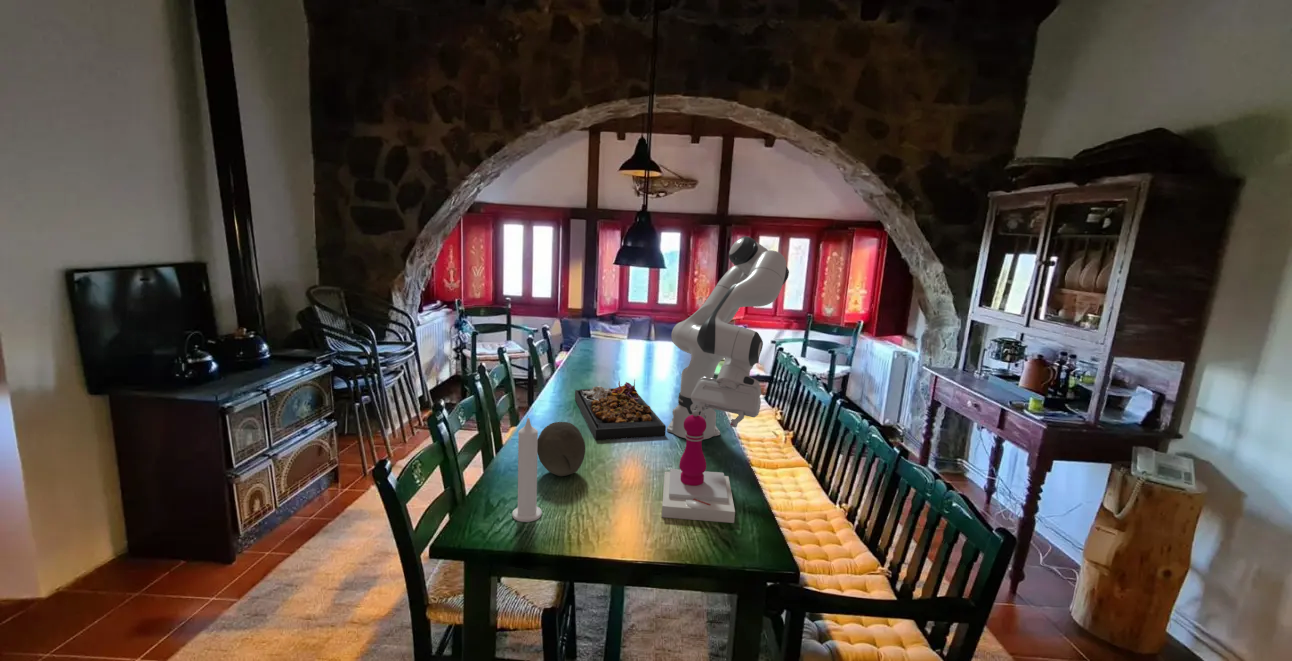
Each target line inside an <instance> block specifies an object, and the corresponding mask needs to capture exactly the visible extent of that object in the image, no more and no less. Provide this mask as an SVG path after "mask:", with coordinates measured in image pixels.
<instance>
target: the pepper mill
mask: <svg viewBox="0 0 1292 661" xmlns="http://www.w3.org/2000/svg"><path fill="white" fill-rule="evenodd" d="M692 414H693V415H690V416H688V417H687V418H686V419H685V421H684V429H685V430H686V432H685V438H684V439H686V440H685V441H686V442H685V449H684V451H683V453H682V455H681V457H680V460H679V469H681V471H682V472H681V482H682V483H684V484H686V485H691V486H697V485H700V484H702V483H703V482H704V474H703V472H704V471H706V470H707V460H706V457H705V455H704V451H703V448H702V442H703V440H705V439H704V437H703V436H704V433H703V432H704V431H705V429H706V421H705V419H704V418H703V417H701V416H699V412H698V410H694V411H693V412H692Z"/></svg>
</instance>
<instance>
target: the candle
mask: <svg viewBox="0 0 1292 661" xmlns="http://www.w3.org/2000/svg"><path fill="white" fill-rule="evenodd" d="M525 421H526V422H525V424H524V426H523V427H522V428H520V429H519V430H518V432H517V433H518V437H517V438H518V442H517V443H518V447H517V449H518V450H517V451H518V453H517V454H518V455H517V456H518V458H517V463H518V464H517V507H516V508H514V509H513V511H512V512H511V514H512V515H511V516H512V518H513V519H514V520H515V521H518V522H522V523H529V522H534V521H537V520H538V519H540V518H541V516H542V513H543V512H542V509H541V508H540V507H539V506H538V505H537V502H538V501H537V500H538V499H537V498H538V497H537V496H538V495H537V494H538V489H537V488H538V453H537V446H538V437H539V432H538V429H536V428H535V427H533V426H532V423H531V419H530V418H529V417H527V418H526V420H525Z"/></svg>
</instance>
